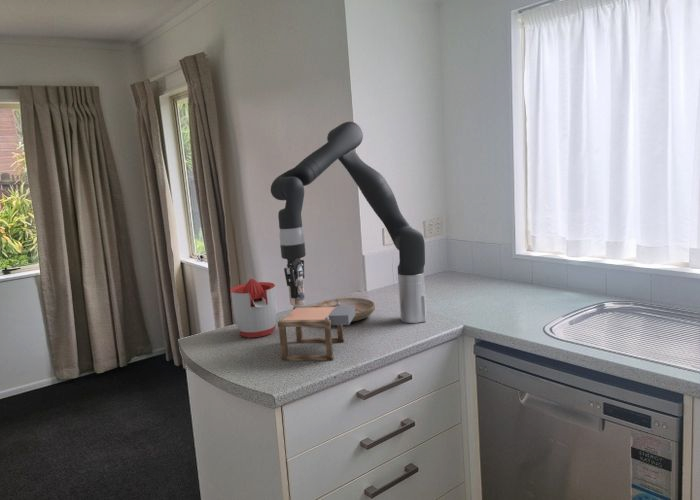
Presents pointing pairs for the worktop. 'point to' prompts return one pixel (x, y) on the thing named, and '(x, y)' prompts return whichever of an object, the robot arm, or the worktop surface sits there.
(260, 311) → the citrus juicer
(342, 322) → the trapdoor
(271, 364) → the worktop surface
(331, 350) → the frame
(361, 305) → the ceramic bowl
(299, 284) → the beer can
